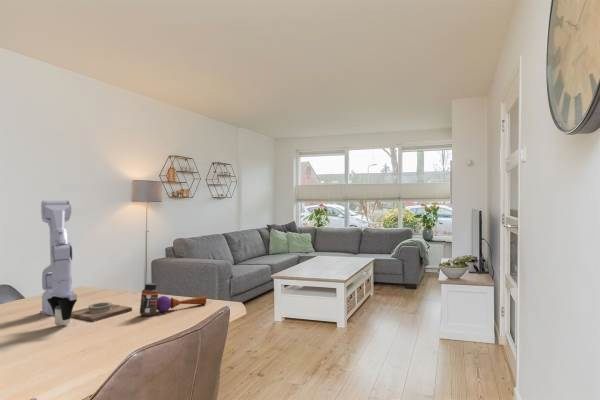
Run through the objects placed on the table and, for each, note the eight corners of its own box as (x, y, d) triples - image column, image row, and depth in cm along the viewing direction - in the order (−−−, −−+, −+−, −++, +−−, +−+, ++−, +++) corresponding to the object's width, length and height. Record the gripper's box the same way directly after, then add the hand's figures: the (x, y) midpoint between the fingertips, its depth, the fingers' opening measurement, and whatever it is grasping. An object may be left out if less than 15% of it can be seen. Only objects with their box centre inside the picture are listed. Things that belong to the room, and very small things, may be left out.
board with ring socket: (67, 315, 150) (67, 307, 150) (106, 305, 164) (106, 298, 164) (93, 321, 142) (92, 312, 142) (131, 310, 156) (131, 302, 156)
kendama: (208, 296, 161) (158, 300, 149) (206, 310, 161) (156, 315, 150) (202, 290, 166) (154, 294, 154) (201, 304, 166) (152, 308, 154)
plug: (52, 324, 137) (52, 306, 137) (65, 320, 140) (65, 303, 140) (59, 326, 134) (59, 308, 134) (72, 322, 138) (72, 305, 138)
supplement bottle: (150, 316, 145) (153, 285, 146) (136, 314, 147) (139, 284, 148) (159, 313, 151) (162, 283, 152) (145, 311, 152) (148, 282, 153)
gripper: (38, 279, 138) (38, 318, 138) (61, 283, 130) (62, 324, 130) (59, 276, 144) (59, 313, 144) (82, 279, 136) (83, 319, 136)
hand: (62, 318), depth 137 cm, fingers closed on plug, 4 cm apart
